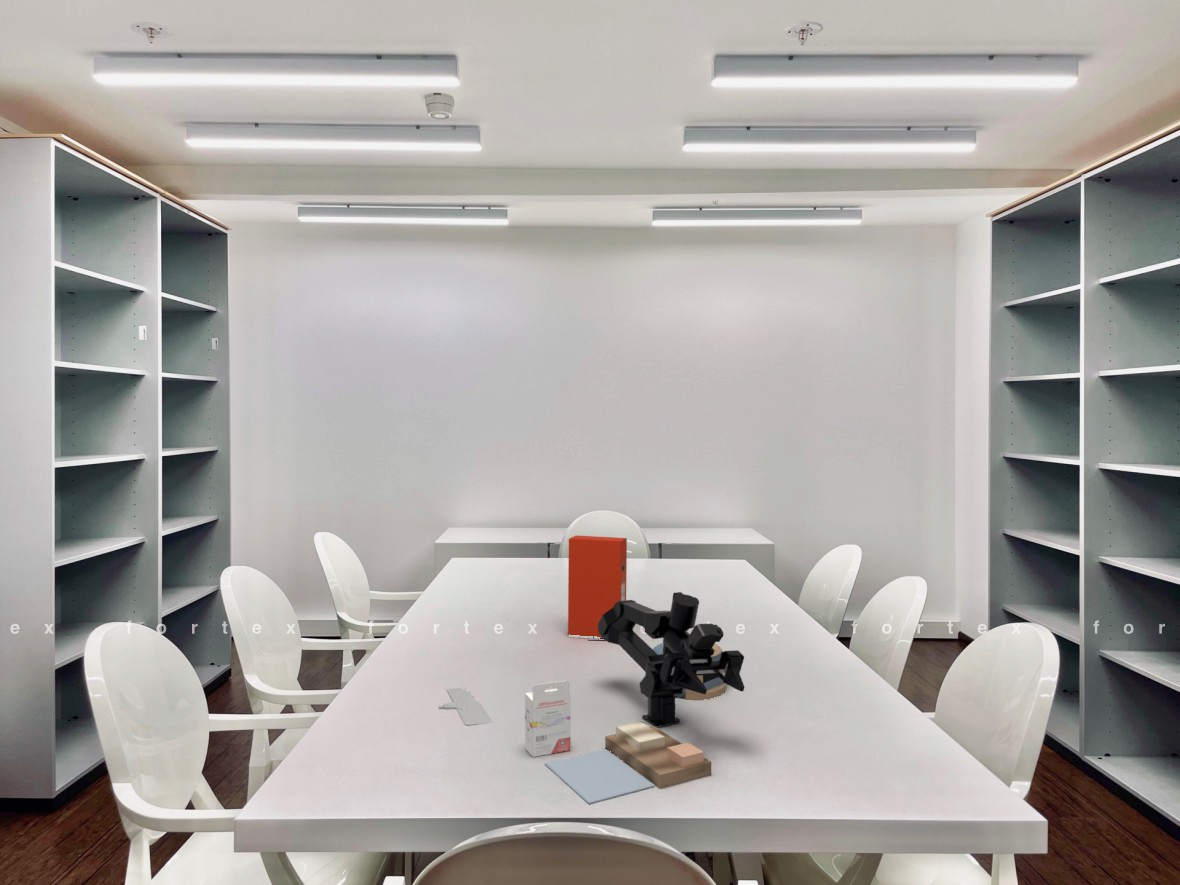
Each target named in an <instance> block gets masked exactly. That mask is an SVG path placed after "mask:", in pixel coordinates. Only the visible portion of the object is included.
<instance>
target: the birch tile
mask: <svg viewBox="0 0 1180 885" xmlns="http://www.w3.org/2000/svg"><path fill="white" fill-rule="evenodd" d="M615 734H616V737H618V738H619V739H621V740H622V741H624V742H625V743H627V744H628V745H630V746H631V747H632V748H634V749H635V750H637V751H638V752H644V751H648V750H652V749H656V748H661V747H665V737H664V736H663V735H661V734H659V733H658V732H656V731H655V730H653V729H651V728H650V726H648V725H647V724H645V723H643V722H642V721H638V722H632V723H627V724H623V725H618V726H616V727H615Z"/></svg>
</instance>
